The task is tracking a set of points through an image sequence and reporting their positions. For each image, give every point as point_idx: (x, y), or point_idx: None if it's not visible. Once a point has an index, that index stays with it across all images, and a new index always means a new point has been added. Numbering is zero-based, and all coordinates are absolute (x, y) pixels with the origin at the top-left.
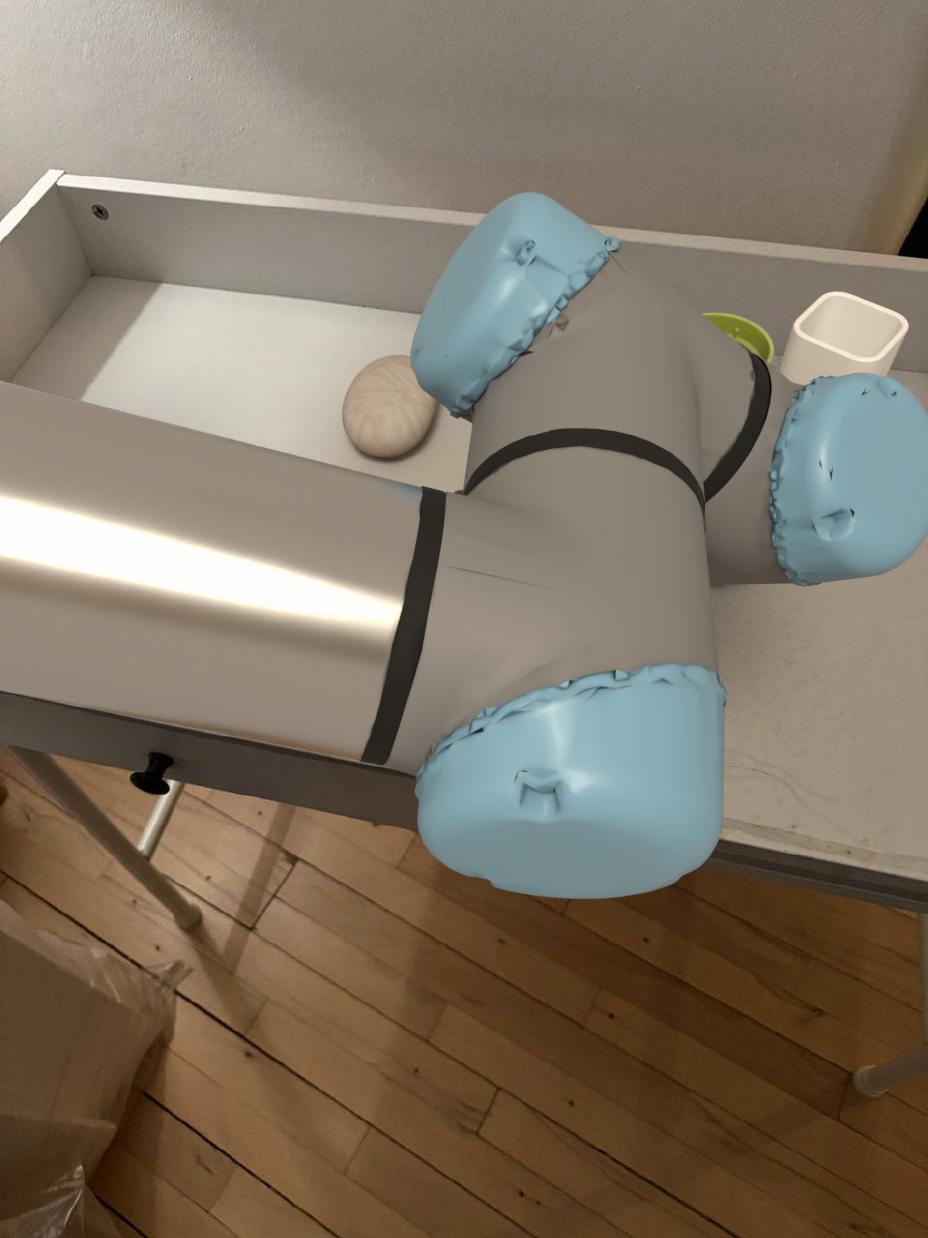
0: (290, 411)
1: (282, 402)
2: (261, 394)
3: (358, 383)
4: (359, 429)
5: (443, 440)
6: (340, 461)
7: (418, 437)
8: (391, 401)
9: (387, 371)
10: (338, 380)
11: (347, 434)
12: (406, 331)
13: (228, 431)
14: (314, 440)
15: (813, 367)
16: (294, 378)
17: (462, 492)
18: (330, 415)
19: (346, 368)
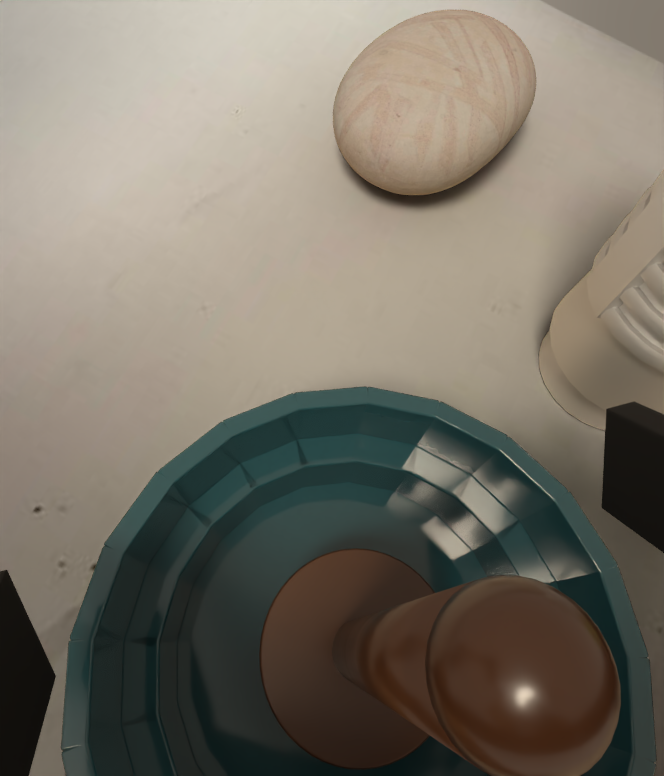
0: (280, 50)
1: (277, 33)
2: (255, 9)
3: (398, 31)
4: (354, 111)
5: (492, 204)
6: (305, 161)
7: (453, 176)
8: (438, 84)
9: (460, 30)
10: None
11: (333, 115)
12: (517, 14)
13: (172, 39)
14: (287, 109)
15: None
16: (316, 8)
17: (576, 669)
18: (335, 82)
19: None
